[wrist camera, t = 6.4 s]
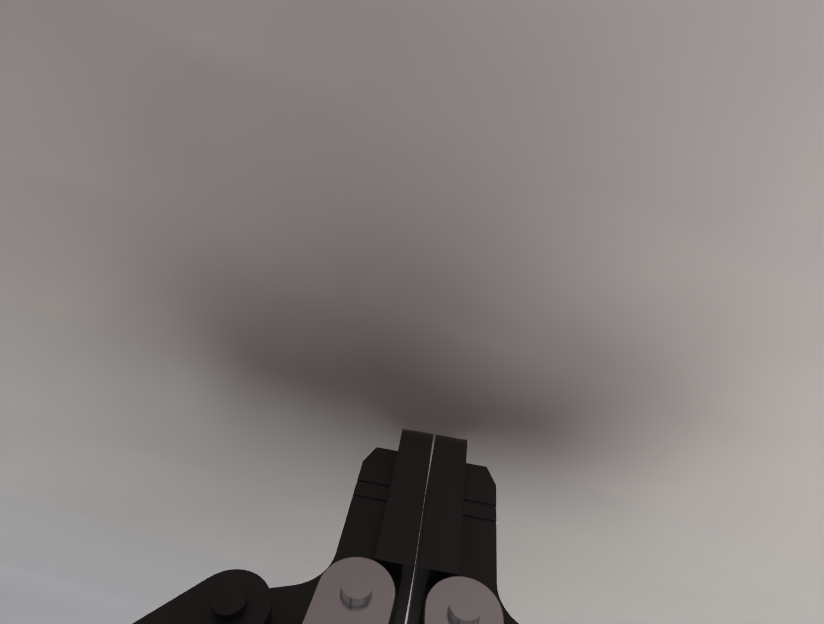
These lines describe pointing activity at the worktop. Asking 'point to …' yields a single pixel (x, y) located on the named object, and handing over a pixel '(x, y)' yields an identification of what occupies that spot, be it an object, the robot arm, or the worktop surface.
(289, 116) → the worktop surface
